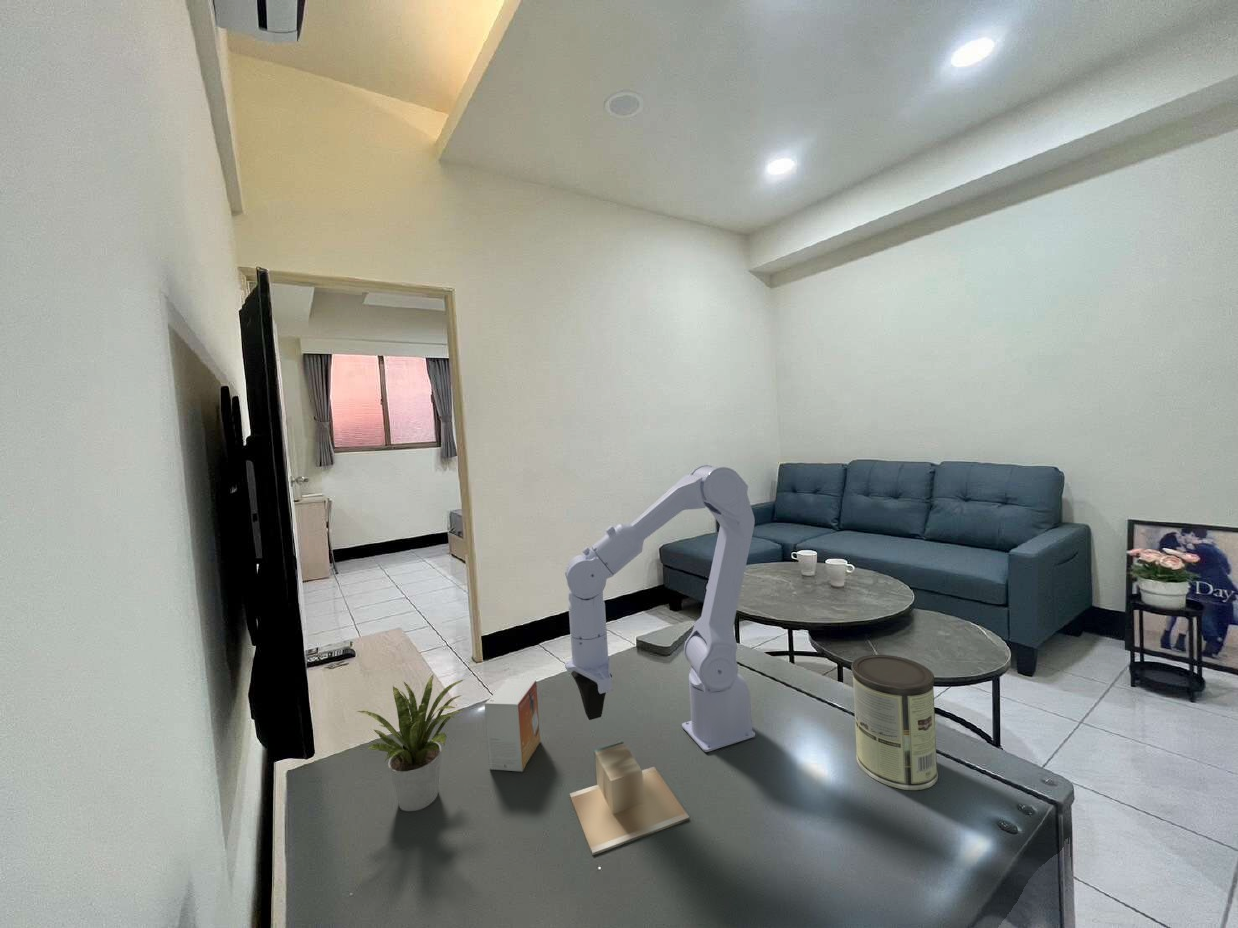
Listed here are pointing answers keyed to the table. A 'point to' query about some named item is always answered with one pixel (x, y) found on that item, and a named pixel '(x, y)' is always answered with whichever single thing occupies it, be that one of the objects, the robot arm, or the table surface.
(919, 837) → the table surface
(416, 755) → the house plant
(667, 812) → the tan flat rectangular panel
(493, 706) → the small box
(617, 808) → the beech block
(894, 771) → the coffee can
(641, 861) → the table surface
